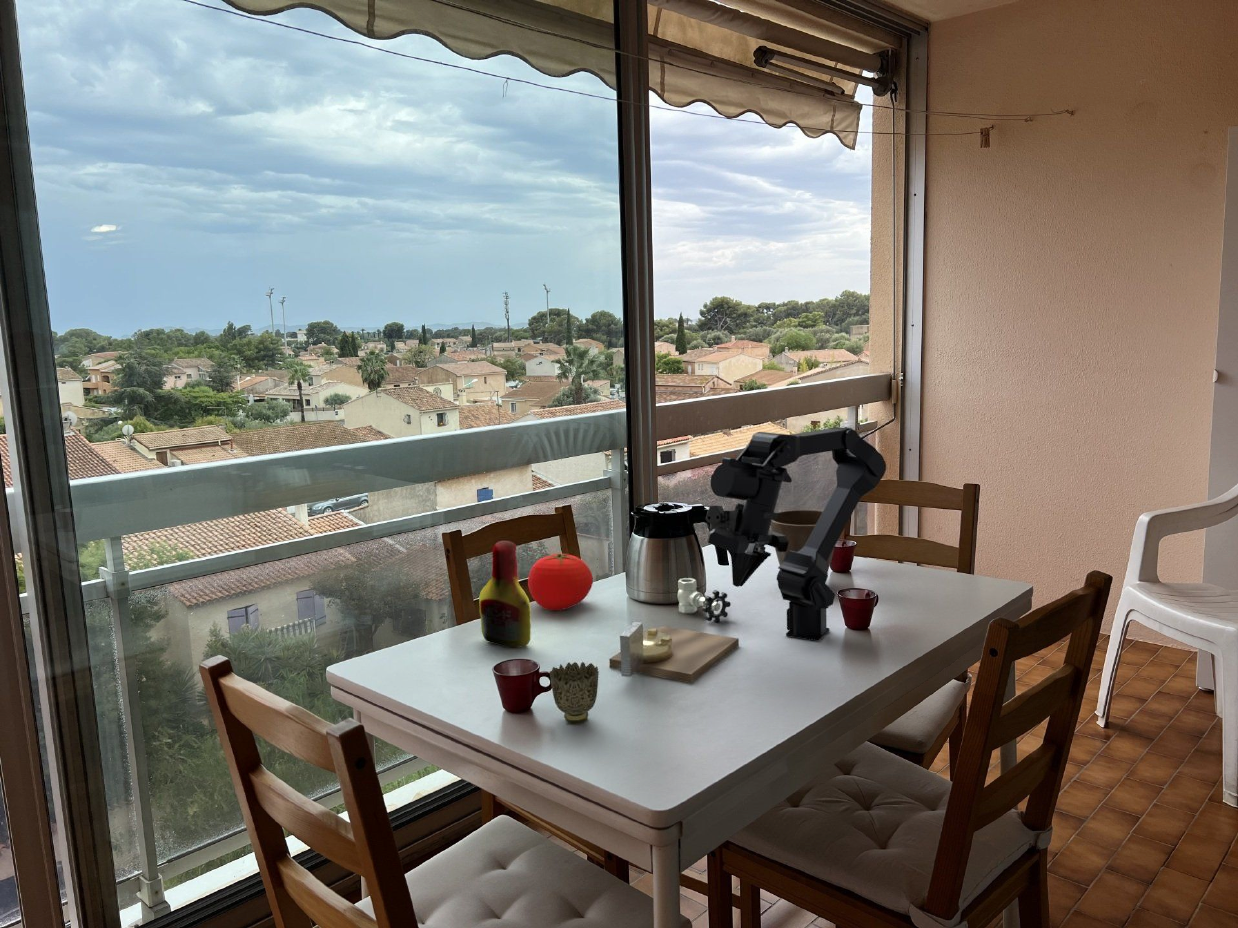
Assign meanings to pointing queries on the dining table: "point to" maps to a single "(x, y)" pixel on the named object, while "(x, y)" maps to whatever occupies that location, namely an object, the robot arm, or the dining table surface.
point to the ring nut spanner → (642, 647)
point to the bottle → (505, 601)
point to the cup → (575, 690)
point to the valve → (700, 600)
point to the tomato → (559, 581)
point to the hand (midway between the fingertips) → (737, 585)
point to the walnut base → (686, 655)
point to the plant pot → (796, 529)
